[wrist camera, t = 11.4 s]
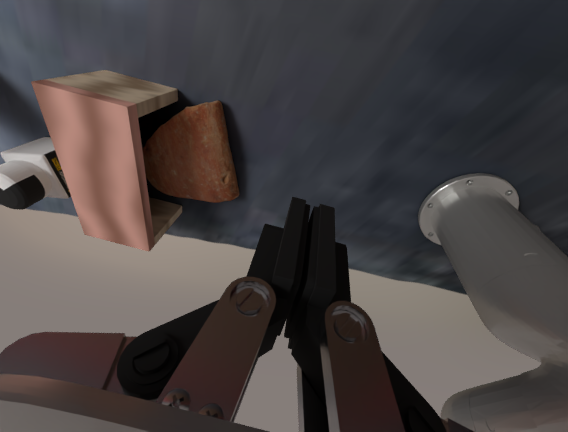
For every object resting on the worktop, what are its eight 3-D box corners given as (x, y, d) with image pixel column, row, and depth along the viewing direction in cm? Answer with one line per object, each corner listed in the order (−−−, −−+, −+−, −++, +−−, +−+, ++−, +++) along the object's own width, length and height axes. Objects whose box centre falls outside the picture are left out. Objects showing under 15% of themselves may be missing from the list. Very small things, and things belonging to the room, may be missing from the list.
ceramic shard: (101, 108, 32) (219, 101, 32) (129, 104, 38) (229, 98, 37) (138, 212, 39) (236, 208, 38) (157, 196, 45) (242, 191, 44)
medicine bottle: (101, 178, 45) (38, 217, 35) (65, 175, 46) (-6, 213, 36) (82, 138, 41) (5, 170, 31) (43, 136, 42) (-44, 166, 32)
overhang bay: (177, 89, 34) (127, 106, 26) (182, 212, 47) (149, 251, 38) (105, 70, 34) (31, 81, 26) (129, 198, 47) (84, 234, 38)
